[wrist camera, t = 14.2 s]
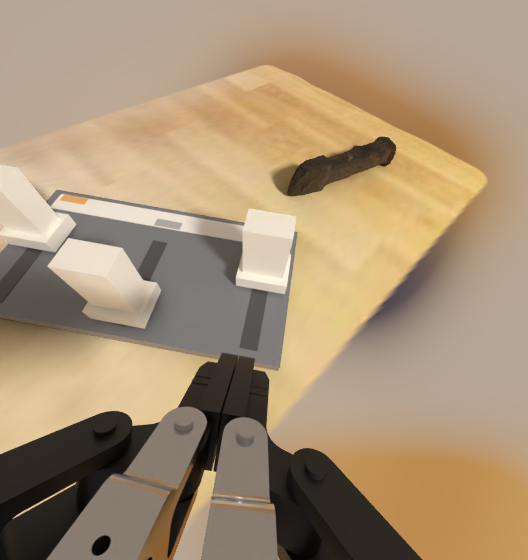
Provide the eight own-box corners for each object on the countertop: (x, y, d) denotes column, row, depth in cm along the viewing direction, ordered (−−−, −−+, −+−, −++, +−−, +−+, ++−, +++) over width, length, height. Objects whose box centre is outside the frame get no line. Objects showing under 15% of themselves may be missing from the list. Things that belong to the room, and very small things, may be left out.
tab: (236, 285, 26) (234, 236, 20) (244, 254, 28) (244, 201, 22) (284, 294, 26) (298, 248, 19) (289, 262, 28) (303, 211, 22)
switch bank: (-32, 312, 24) (-48, 304, 23) (64, 199, 33) (56, 188, 31) (277, 370, 24) (280, 366, 22) (295, 240, 32) (297, 231, 31)
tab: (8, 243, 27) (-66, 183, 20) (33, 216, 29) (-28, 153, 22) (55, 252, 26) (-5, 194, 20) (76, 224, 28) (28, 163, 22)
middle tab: (90, 318, 23) (32, 274, 17) (111, 281, 25) (67, 229, 19) (144, 328, 23) (107, 287, 17) (161, 290, 25) (133, 241, 19)
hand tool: (372, 155, 43) (384, 126, 39) (388, 168, 42) (403, 140, 38) (277, 186, 38) (280, 157, 34) (291, 204, 36) (297, 175, 32)
